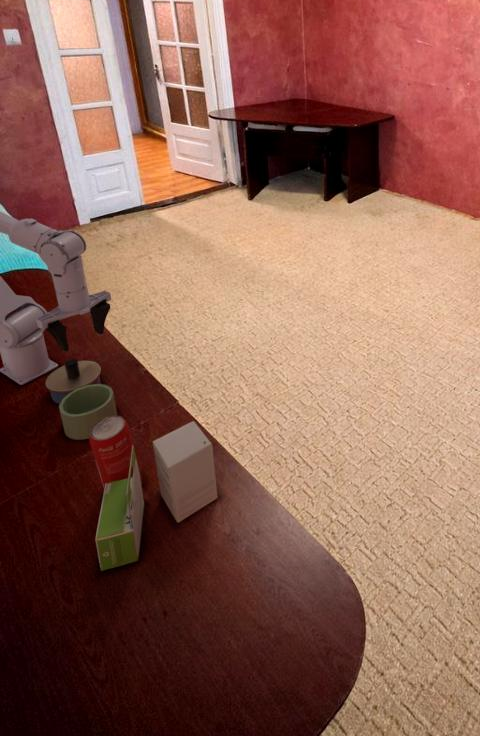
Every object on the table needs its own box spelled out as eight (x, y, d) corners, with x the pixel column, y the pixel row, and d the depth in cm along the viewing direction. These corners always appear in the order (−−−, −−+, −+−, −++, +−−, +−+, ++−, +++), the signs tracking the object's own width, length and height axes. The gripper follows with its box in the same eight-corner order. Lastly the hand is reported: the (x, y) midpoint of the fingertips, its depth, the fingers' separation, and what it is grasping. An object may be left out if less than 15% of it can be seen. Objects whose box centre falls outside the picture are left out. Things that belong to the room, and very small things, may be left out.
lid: (36, 384, 105) (32, 366, 103) (84, 359, 113) (80, 342, 112) (63, 401, 100) (59, 383, 99) (111, 374, 109) (108, 357, 107)
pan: (42, 394, 106) (39, 381, 105) (85, 371, 114) (82, 359, 112) (67, 410, 102) (64, 397, 101) (109, 385, 110) (107, 372, 108)
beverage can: (149, 477, 88) (139, 412, 83) (127, 509, 82) (114, 441, 77) (118, 472, 89) (106, 408, 83) (94, 504, 83) (79, 437, 77)
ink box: (110, 513, 81) (98, 449, 77) (145, 503, 83) (135, 441, 78) (100, 573, 72) (85, 505, 68) (140, 561, 74) (128, 494, 70)
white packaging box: (200, 472, 90) (195, 418, 86) (218, 498, 85) (213, 443, 81) (159, 495, 85) (151, 440, 81) (176, 525, 80) (168, 468, 76)
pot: (54, 427, 97) (49, 404, 95) (99, 400, 105) (95, 378, 103) (82, 446, 94) (76, 422, 92) (126, 417, 101) (122, 394, 99)
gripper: (44, 307, 96) (58, 364, 100) (115, 279, 108) (124, 330, 112) (25, 297, 99) (39, 352, 103) (96, 271, 111) (106, 321, 115)
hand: (82, 340), depth 108 cm, fingers open, 7 cm apart
